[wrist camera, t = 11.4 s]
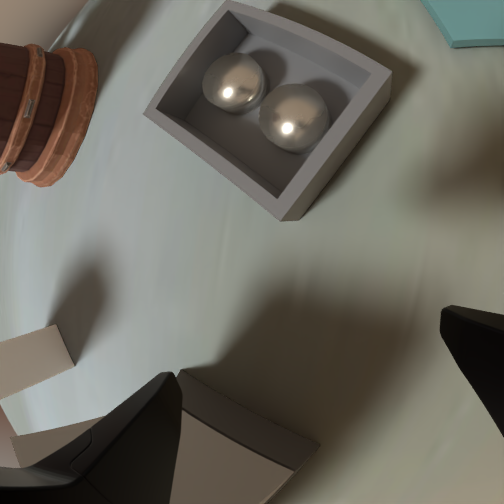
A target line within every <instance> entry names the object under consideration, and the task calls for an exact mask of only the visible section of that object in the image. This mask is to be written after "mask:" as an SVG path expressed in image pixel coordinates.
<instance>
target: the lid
mask: <svg viewBox="0 0 504 504" xmlns="http://www.w3.org/2000/svg"><path fill="white" fill-rule="evenodd" d="M421 2H422V3H423V5H424V6H425V7H426V9H427V10H428V12H429V13H430V15H431V16H432V18H433V20H434V21H435V23H436V24H437V26H438V27H439V29H440V31H441V32H442V34H443V36H444V37H445V39H446V41H447V43H448V44H449V46H450V48H457V47H470V46H492V45H504V0H421Z"/></svg>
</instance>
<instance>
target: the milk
mask: <svg viewBox="0 0 504 504" xmlns="http://www.w3.org/2000/svg"><path fill="white" fill-rule="evenodd" d="M73 367H74V363H73V361H72V359H71V357H70V355H69V353H68V351H67V348H66V346H65V344H64V342H63V339H62V337H61V335H60V332H59V330H58V327H57V325H56V324H55V325H52V326H49V327H46V328H43V329H40V330H37V331H34V332H31V333H28V334H24V335H21V336H18V337H15V338H12V339H9V340H6V341H3V342H0V400H1V399H3V398H5V397H8V396H10V395H12V394H15V393H17V392H19V391H21V390H24V389H26V388H28V387H31V386H33V385H35V384H37V383H40V382H42V381H44V380H46V379H49V378H51V377H53V376H55V375H57V374H60V373H62V372H64V371H66V370H68V369H71V368H73Z"/></svg>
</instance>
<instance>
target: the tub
mask: <svg viewBox="0 0 504 504" xmlns="http://www.w3.org/2000/svg"><path fill="white" fill-rule="evenodd" d="M230 53H244V54H247V55H249V56H251V57H252V58H253V59H254V60H255V61H256V62H257V63H258V65H259V66H260V67H261V68H262V69H263V70H264V71H265V73H266V74H267V76H268V78H269V82H270V89H269V93H270V92H271V91H273V90H274V89H276V88H278V87H280V86H282V85H286V84H293V83H296V84H303V85H306V86H309V87H311V88H313V89H314V90H315V91H317V92H318V93H319V94H320V96H321V97H322V99H323V100H324V102H325V104H326V106H327V109H328V111H329V113H330V116H331V120H332V127H331V128H330V129H329V131H328V132H327V133H326V135H325V136H324V137H323V139H322V140H321V141H320V143H319V144H318V145H317V147H316V148H315V149H314V151H313V152H310V153H307V154H292V153H289V152H287V151H284V150H283V149H281V148H280V147H278V146H277V145H276V144H274V143H273V142H271V141H270V140H269V139H268V138H267V137H266V136H265V135H264V134H263V132H262V130H261V128H260V125H259V110H260V107H261V105H260V106H259V107H258V108H257V109H256V110H254V111H252V112H250V113H247V114H243V115H233V114H230V113H227V112H226V111H224V110H222V109H221V108H219V107H217V106H216V105H214V104H213V103H211V102H210V101H208V100H207V98H206V97H205V95H204V93H203V89H202V82H203V78H204V75H205V73H206V71H207V69H208V68H209V67H210V65H211V64H212V63H213V62H214V61H216V60H217V59H218V58H220V57H222V56H224V55H226V54H230ZM391 84H392V71H391V70H389V69H387V68H386V67H384V66H383V65H381V64H379V63H377V62H376V61H374V60H372V59H371V58H369V57H367V56H365V55H364V54H362V53H360V52H358V51H356V50H354V49H352V48H351V47H349V46H347V45H345V44H343V43H341V42H339V41H337V40H335V39H333V38H331V37H328V36H326V35H324V34H322V33H320V32H318V31H315V30H313V29H311V28H308V27H306V26H304V25H301V24H299V23H296V22H294V21H291V20H289V19H286V18H284V17H281V16H278V15H275V14H273V13H270V12H267V11H264V10H261V9H258V8H255V7H252V6H248V5H245V4H242V3H238V2H235V1H231V0H226V1H225V2H224V3H223V4H222V5H221V6H220V8H219V9H218V10H217V11H216V12H215V13H214V15H213V16H212V17H211V18H210V19H209V21H208V22H207V23H206V24H205V25H204V27H203V28H202V29H201V30H200V32H199V33H198V34H197V35H196V37H195V38H194V39H193V41H192V42H191V43H190V45H189V46H188V47H187V49H186V50H185V51H184V53H183V54H182V55H181V57H180V58H179V59H178V61H177V62H176V64H175V65H174V67H173V68H172V69H171V71H170V72H169V74H168V75H167V77H166V78H165V80H164V81H163V83H162V84H161V86H160V87H159V89H158V90H157V92H156V94H155V95H154V97H153V98H152V100H151V101H150V103H149V105H148V106H147V108H146V110H145V111H144V113H143V115H145V116H146V117H147V118H149V119H150V120H151V121H153V122H154V123H155V124H157V125H158V126H159V127H161V128H162V129H163V130H165V131H166V132H167V133H169V134H170V135H171V136H173V137H174V138H175V139H177V140H178V141H179V142H181V143H182V144H183V145H185V146H186V147H187V148H189V149H190V150H191V151H192V152H194V153H195V154H196V155H198V156H199V157H200V158H202V159H203V160H204V161H205V162H207V163H208V164H209V165H211V166H212V167H213V168H214V169H216V170H217V171H218V172H219V173H221V174H222V175H223V176H225V177H226V178H227V179H228V180H230V181H231V182H232V183H233V184H235V185H236V186H237V187H238V188H240V189H241V190H242V191H243V192H245V193H246V194H247V195H248V196H250V197H251V198H252V199H253V200H254V201H256V202H257V203H258V204H259V205H261V206H262V207H263V208H264V209H265V210H267V211H268V212H269V213H270V214H272V215H273V216H274V217H275V218H276V219H278V220H279V221H298V220H299V219H300V218H301V217H302V216H303V214H304V213H305V212H306V210H307V209H308V208H309V206H310V205H311V204H312V203H313V201H314V200H315V199H316V197H317V196H318V195H319V193H320V192H321V191H322V189H323V188H324V187H325V185H326V184H327V183H328V182H329V180H330V179H331V178H332V176H333V175H334V174H335V172H336V171H337V170H338V168H339V167H340V166H341V164H342V163H343V162H344V160H345V159H346V158H347V156H348V155H349V154H350V152H351V151H352V150H353V148H354V147H355V146H356V144H357V143H358V142H359V140H360V139H361V138H362V136H363V135H364V134H365V132H366V131H367V130H368V128H369V127H370V126H371V124H372V123H373V122H374V120H375V119H376V117H377V116H378V115H379V113H380V112H381V111H382V109H383V108H384V107H385V105H386V104H387V103H388V101H389V100H390V95H391ZM269 93H268V94H269Z"/></svg>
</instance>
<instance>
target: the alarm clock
mask: <svg viewBox="0 0 504 504" xmlns="http://www.w3.org/2000/svg"><path fill="white" fill-rule="evenodd" d="M176 379H177V381H178V383H179V386H180V388H181V390H182V394H183V403H182V422H181V436H180V442H179V448H178V454H177V460H176V466H175V472H174V478H173V484H172V491H171V497H170V504H267V503H268V502H269V501H270V500H271V499H272V498H273V497H274V496H275V495H276V494H277V493H278V492H279V491H280V490H281V489H282V488H283V487H284V486H285V485H286V484H287V483H288V482H289V481H290V480H291V478H292V477H293V476H294V475H295V474H296V473H297V472H298V471H299V470H300V469H301V467H302V466H303V465H304V464H305V463H306V462H307V460H308V459H309V458H310V457H311V456H312V455H313V453H314V452H315V451H316V450H317V449H318V447H319V446H320V444H317V443H315V442H313V441H311V440H308V439H306V438H304V437H302V436H300V435H297V434H295V433H293V432H291V431H289V430H287V429H285V428H283V427H281V426H279V425H277V424H275V423H273V422H271V421H269V420H267V419H265V418H263V417H261V416H259V415H257V414H255V413H253V412H252V411H250V410H248V409H246V408H244V407H242V406H241V405H239V404H237V403H235V402H234V401H232V400H230V399H228V398H227V397H225V396H223V395H221V394H220V393H218V392H216V391H215V390H213V389H211V388H210V387H208V386H206V385H205V384H203V383H202V382H200V381H198V380H197V379H195V378H194V377H192V376H191V375H189V374H187V373H186V372H184V371H183V370H180V372H179V374H178V375H177V377H176ZM103 417H105V416H102V417H99V418H95V419H92V420H88V421H84V422H80V423H76V424H72V425H68V426H64V427H60V428H55V429H51V430H46V431H41V432H36V433H31V434H26V435H20V436H15V437H10V439H11V442H12V445H13V448H14V451H15V453H16V456H17V459H18V462H19V464H20V467H21V468H24V467H28V466H31V465H33V464H35V463H36V462H38V461H40V460H42V459H43V458H45V457H47V456H48V455H50V454H52V453H53V452H55V451H57V450H58V449H60V448H61V447H63V446H65V445H66V444H68V443H69V442H71V441H72V440H74V439H75V438H77V437H78V436H79V435H81V434H82V433H83V432H85V431H86V430H87V429H89V428H91V426H93V425H94V424H95V423H97V422H98V421H99V420H101V419H102V418H103Z"/></svg>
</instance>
